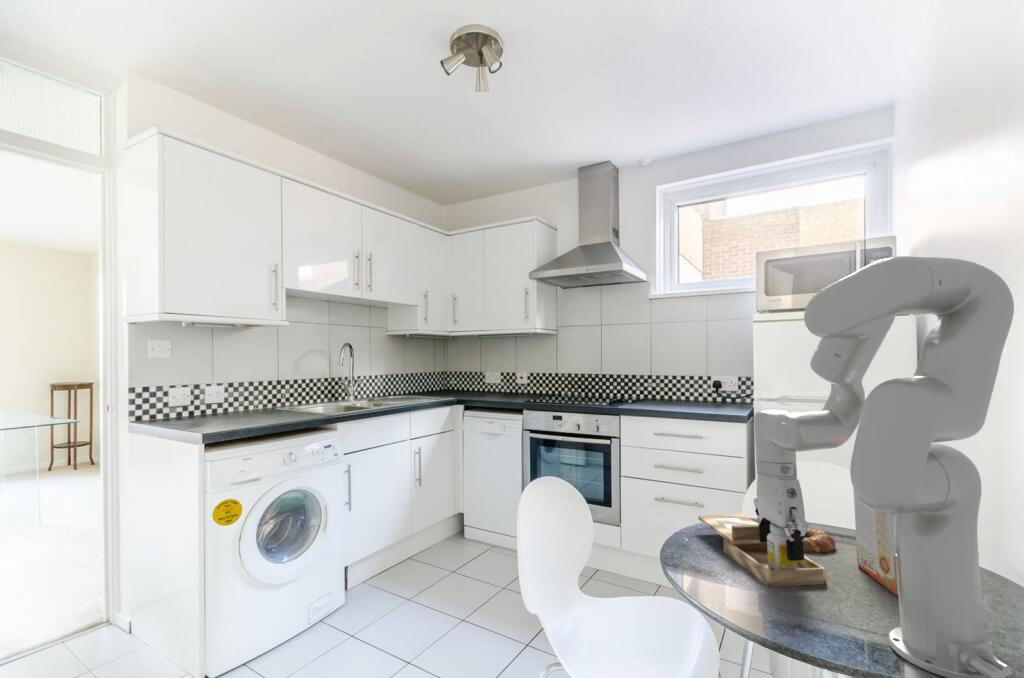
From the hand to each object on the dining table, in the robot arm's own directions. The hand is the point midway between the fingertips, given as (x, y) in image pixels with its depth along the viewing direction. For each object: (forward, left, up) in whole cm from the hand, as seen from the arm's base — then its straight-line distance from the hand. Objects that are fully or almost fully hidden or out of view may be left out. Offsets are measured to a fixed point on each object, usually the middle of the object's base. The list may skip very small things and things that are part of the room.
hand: (780, 550), depth 100 cm
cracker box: (-5, -20, -5) cm, 21 cm away
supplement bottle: (0, 0, -4) cm, 5 cm away
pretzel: (+15, -16, -5) cm, 22 cm away
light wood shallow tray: (+4, 0, -5) cm, 6 cm away
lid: (+18, 0, -2) cm, 18 cm away
